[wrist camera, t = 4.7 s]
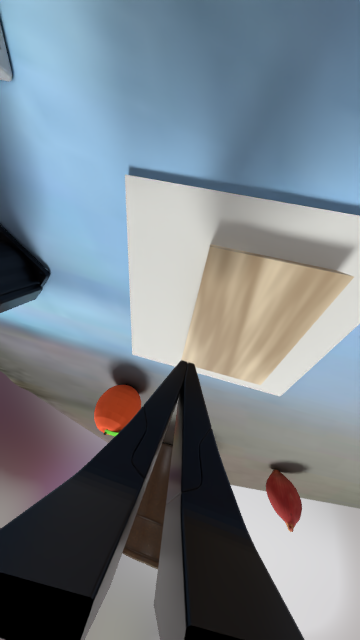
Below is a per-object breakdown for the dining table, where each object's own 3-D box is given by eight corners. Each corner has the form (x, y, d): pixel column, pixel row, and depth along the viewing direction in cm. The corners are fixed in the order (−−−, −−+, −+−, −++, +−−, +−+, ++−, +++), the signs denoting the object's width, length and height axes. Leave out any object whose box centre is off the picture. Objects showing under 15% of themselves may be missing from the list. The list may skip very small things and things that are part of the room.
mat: (134, 351, 20) (132, 354, 20) (128, 176, 10) (124, 174, 10) (278, 392, 19) (280, 396, 18) (446, 232, 8) (458, 233, 8)
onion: (298, 472, 30) (321, 540, 24) (278, 476, 34) (293, 536, 27) (274, 462, 30) (290, 528, 24) (256, 466, 33) (266, 525, 27)
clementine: (151, 381, 23) (129, 432, 18) (154, 403, 27) (138, 451, 21) (107, 372, 25) (74, 417, 19) (116, 394, 28) (91, 437, 23)
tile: (180, 362, 16) (260, 385, 15) (209, 246, 9) (354, 276, 9) (183, 352, 18) (257, 372, 17) (210, 244, 11) (336, 270, 10)
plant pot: (142, 451, 46) (113, 541, 33) (134, 431, 38) (90, 541, 24) (191, 466, 44) (181, 569, 31) (195, 447, 35) (183, 581, 22)
